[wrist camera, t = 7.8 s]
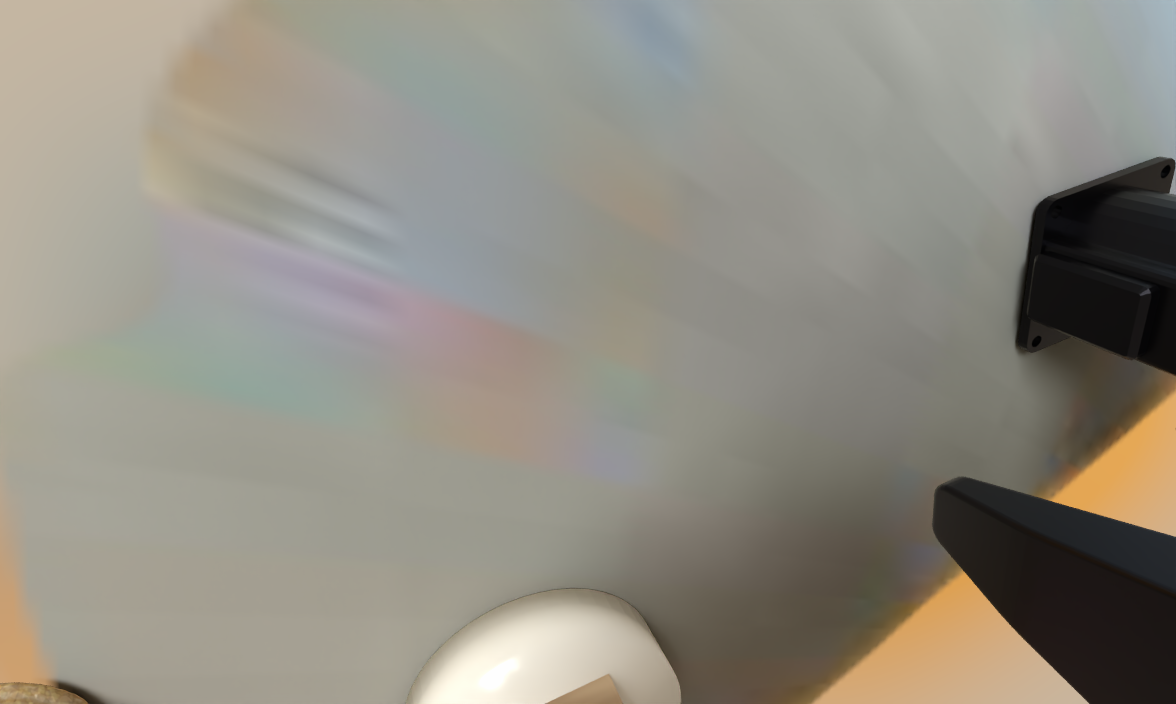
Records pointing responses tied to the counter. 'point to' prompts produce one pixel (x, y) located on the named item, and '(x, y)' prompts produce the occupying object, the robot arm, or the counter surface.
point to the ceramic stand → (549, 654)
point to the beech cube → (592, 693)
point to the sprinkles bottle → (36, 694)
